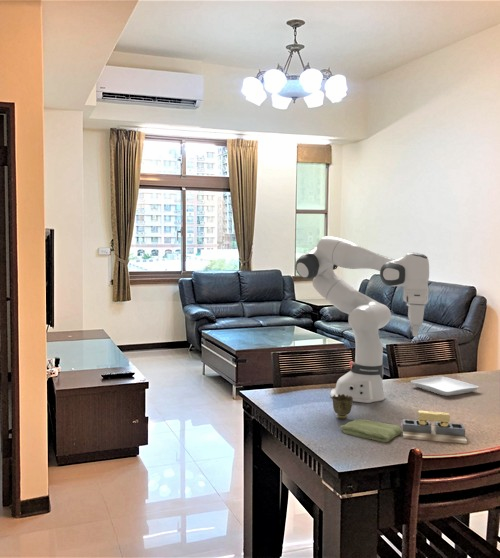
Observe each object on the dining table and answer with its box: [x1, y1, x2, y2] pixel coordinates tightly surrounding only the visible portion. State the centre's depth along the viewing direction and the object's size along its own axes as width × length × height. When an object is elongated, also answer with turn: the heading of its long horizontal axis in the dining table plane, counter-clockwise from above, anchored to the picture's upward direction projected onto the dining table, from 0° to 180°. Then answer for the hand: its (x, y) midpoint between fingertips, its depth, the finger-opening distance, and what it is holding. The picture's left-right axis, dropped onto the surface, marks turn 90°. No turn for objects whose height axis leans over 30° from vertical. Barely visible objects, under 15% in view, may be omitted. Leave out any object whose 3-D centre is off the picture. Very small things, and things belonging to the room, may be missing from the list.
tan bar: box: [417, 410, 451, 427], centre depth 192 cm, size 10×3×6 cm, turn 78°
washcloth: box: [340, 418, 402, 443], centre depth 193 cm, size 13×18×3 cm
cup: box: [331, 394, 354, 420], centre depth 207 cm, size 8×7×8 cm
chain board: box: [400, 422, 468, 445], centre depth 192 cm, size 20×13×1 cm, turn 78°
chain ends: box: [401, 418, 466, 438], centre depth 192 cm, size 20×5×2 cm, turn 78°
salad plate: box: [410, 375, 480, 397], centre depth 250 cm, size 21×21×3 cm
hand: (414, 334), depth 209 cm, fingers open, 8 cm apart
